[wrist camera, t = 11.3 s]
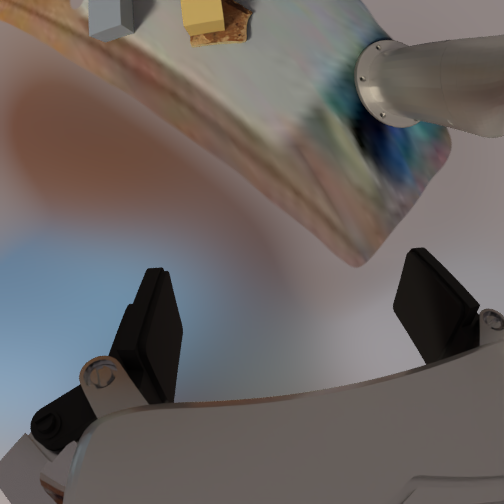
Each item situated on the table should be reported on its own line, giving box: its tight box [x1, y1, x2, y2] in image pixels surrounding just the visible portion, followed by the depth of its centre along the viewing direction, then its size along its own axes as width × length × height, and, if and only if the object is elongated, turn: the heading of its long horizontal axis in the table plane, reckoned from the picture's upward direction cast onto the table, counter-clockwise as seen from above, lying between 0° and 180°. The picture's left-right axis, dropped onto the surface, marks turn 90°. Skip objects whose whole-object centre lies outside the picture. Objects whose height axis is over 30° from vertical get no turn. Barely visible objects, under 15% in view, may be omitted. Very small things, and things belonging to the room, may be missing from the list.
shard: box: [190, 0, 252, 47], centre depth 24 cm, size 11×8×2 cm
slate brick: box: [89, 0, 134, 42], centre depth 21 cm, size 6×4×5 cm, turn 5°
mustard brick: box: [181, 0, 225, 36], centre depth 22 cm, size 6×4×5 cm, turn 7°
